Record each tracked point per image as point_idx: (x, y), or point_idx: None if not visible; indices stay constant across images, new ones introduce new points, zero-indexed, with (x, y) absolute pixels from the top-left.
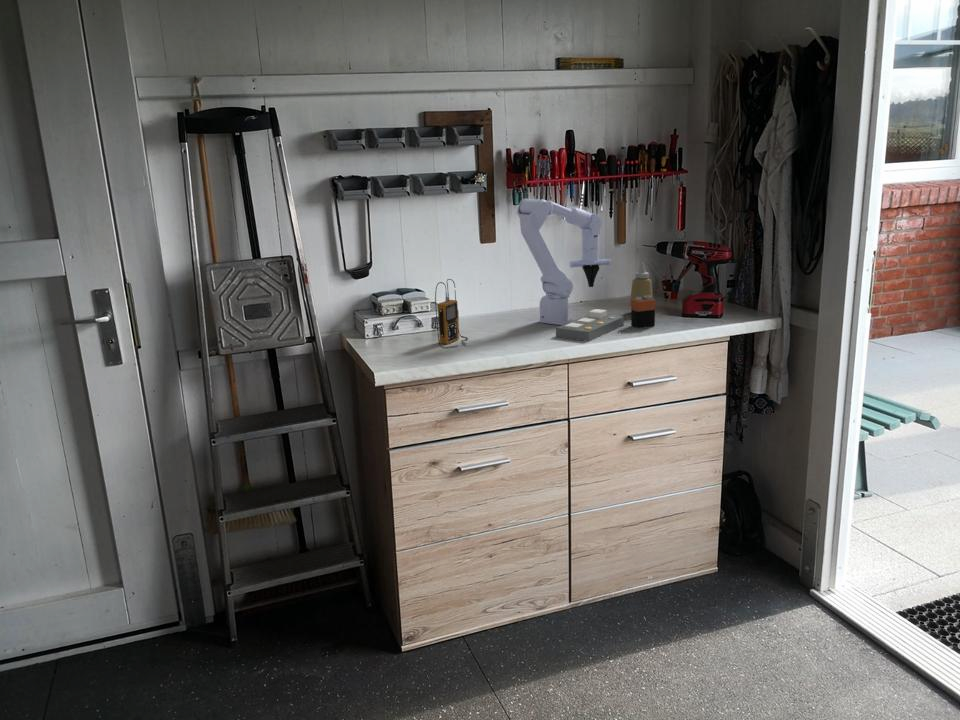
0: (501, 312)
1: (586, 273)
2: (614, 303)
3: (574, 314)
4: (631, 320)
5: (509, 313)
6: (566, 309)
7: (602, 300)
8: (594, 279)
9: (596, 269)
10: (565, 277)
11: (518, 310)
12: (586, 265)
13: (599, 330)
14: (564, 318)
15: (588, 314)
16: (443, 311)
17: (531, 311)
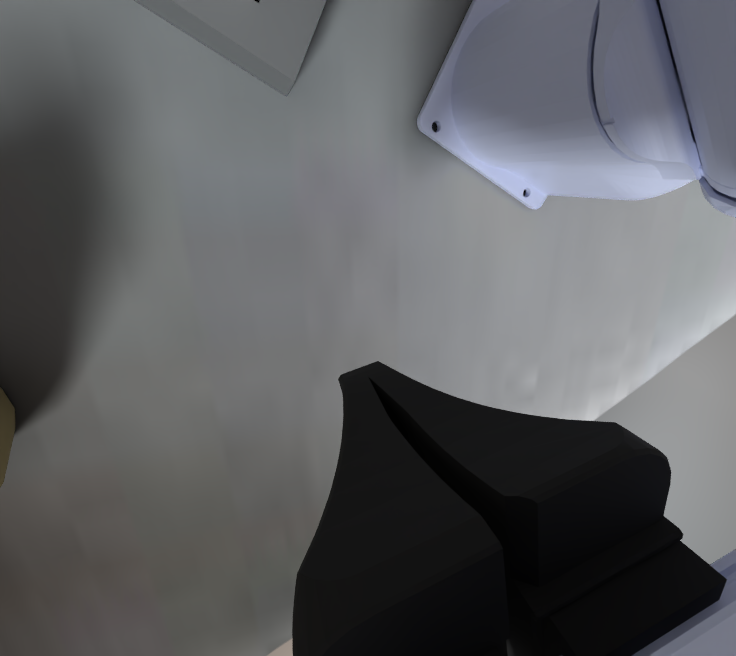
0: (687, 322)
1: (534, 418)
2: (210, 579)
3: (405, 314)
4: None
5: (667, 307)
6: (524, 7)
7: (282, 607)
8: (348, 418)
9: (369, 550)
10: None
11: (626, 365)
12: (661, 628)
13: None
14: (494, 12)
15: (320, 11)
16: None
17: (585, 354)
